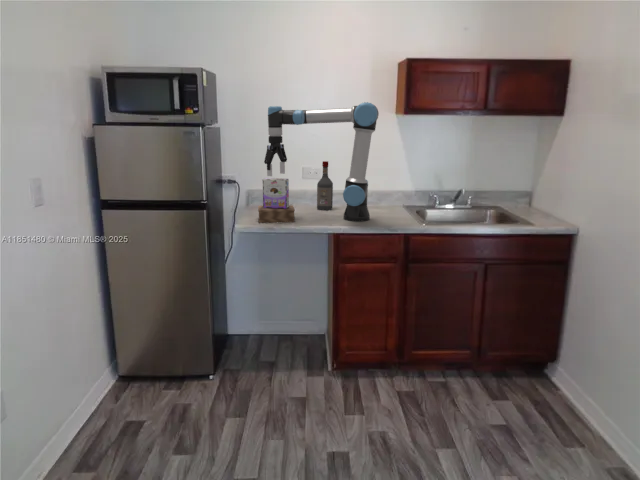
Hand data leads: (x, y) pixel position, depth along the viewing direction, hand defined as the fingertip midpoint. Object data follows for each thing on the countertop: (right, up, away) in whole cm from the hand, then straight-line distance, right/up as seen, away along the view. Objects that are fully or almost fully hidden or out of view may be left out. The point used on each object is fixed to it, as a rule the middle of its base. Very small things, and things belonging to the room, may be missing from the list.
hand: (276, 174), depth 268 cm
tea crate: (-1, -25, +7) cm, 26 cm away
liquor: (+27, -17, +40) cm, 51 cm away
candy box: (-1, -18, +5) cm, 19 cm away
